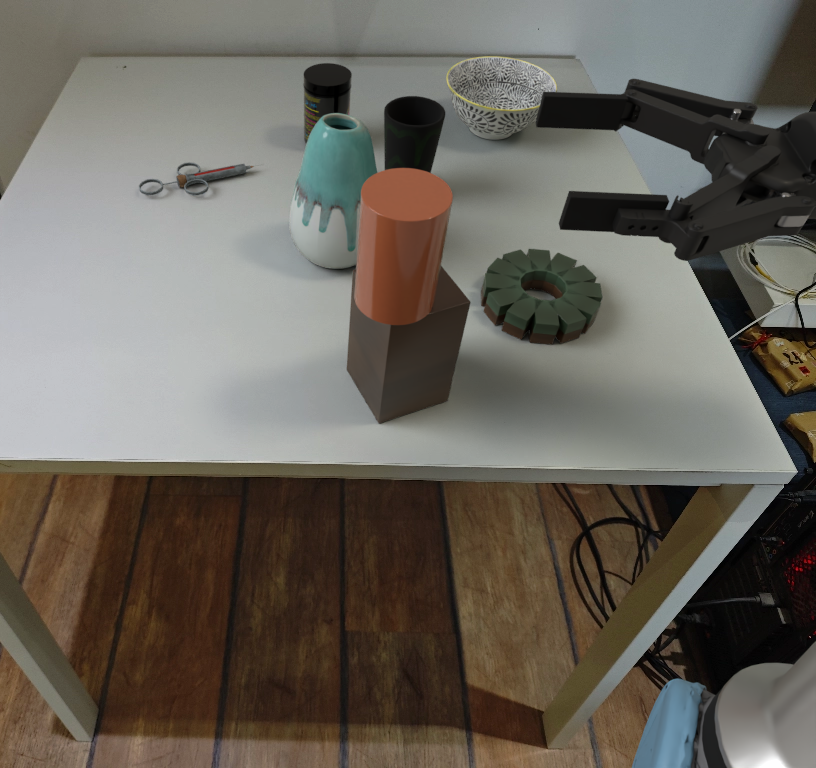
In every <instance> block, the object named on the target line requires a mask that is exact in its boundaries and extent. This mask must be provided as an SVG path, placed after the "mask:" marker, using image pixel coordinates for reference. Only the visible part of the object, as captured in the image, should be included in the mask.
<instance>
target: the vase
mask: <svg viewBox="0 0 816 768" xmlns="http://www.w3.org/2000/svg"><path fill="white" fill-rule="evenodd" d="M371 136H372V135H371V133H370V131H369V129H368V127H367V126H366V124H365V123H364V122H363V121H362V120H361V119H359V118H357V117H355V116H353V115H351V114H350V115H346V114H341V113H331V114H327V115H324V116H322V117H321V118H320V119H319V120H318V122H317V123H316V124H315V126H314V128H313V129H312V131H311V133H310V135H309V138H308V141H307V144H306V143H305V147H304V151H303V155H302V159H301V164H300V168H299V171H298V174H297V177H296V179H295V182H294V185H293V191H292V195H291V200H290V207H289V216H288V217H289V222H288V223H289V224H288V229H289V234H290V237H291V240H292V242H293V244H294V246H295V248H296V249H297V250H298V252H299V253H300V254H301V256H303V257H304V259H306V260H307V261H309V262H310V263H312V264H314V265H316V266H318V267H321V268H326V269H334V270H337V269H338V270H339V269H347V268H352V267H354V266H356V259H357V244H358V229H359V214H360V198H361V189H362V186H363V184H364V183H365V181H366V180H367V179H368V178H369V177H371V176H372V175H374V174H376V173H378V172H379V171H378V169H377V162H376V157H375V149H374V144H373V140H372V137H371Z"/></svg>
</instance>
